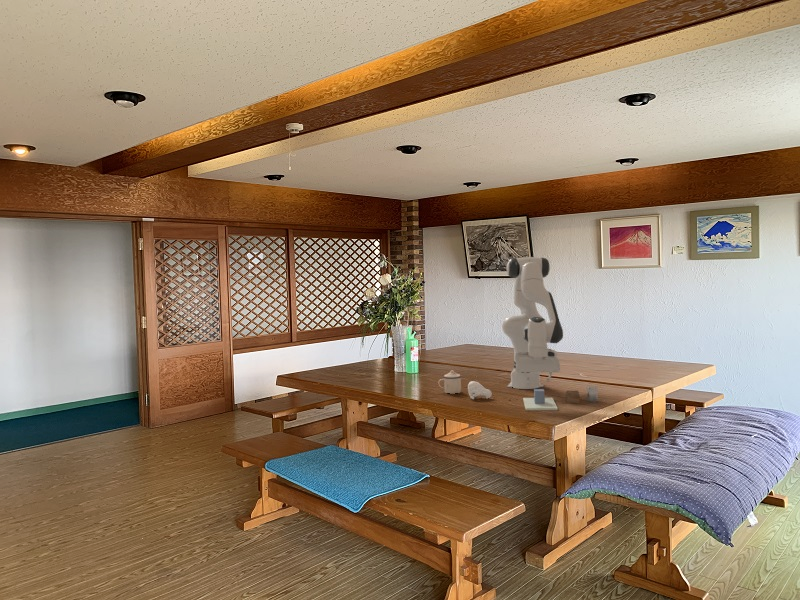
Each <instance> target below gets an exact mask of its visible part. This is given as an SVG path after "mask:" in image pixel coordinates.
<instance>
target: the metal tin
mask: <svg viewBox="0 0 800 600" xmlns="http://www.w3.org/2000/svg"><path fill="white" fill-rule="evenodd" d="M598 390H599V389H598V386H596V385H587V386H586V402H587V401H588V402H587V403H591V402H595V403H598V402H599V399H598V398H599V392H598ZM597 401H598V402H597Z"/></svg>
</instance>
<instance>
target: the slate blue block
mask: <svg viewBox="0 0 800 600" xmlns="http://www.w3.org/2000/svg"><path fill="white" fill-rule="evenodd" d="M545 394H546V393H545V389H544V388H534V389H533V398H534V402H535V404H545V398H546V395H545Z"/></svg>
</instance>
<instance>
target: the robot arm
mask: <svg viewBox="0 0 800 600" xmlns="http://www.w3.org/2000/svg"><path fill="white" fill-rule="evenodd" d="M550 270H551V266H550V261H549V259H547V258H545V257H535V256H534V257H533V256H528V257H526V256H525V257H524V256H523V257H511V258H509V259H508V261H507V263H506V273H507V275H508V276H509V277H510V278H514V279H515V280H514V287H513V288H514V290H513V291H514V294H513V295H514V296H513V303H514V305H515V306H516V308H518V309H519V310H520V313H521V314H519V315H512V316H510V317H506V318H504V319H503V321H502V324H501V327H502V331H503V333H504V334H505V335H506V337H508V338H509V340H510V341H511V344H512V347H513V353H514V354H513V355H514V356H513V357H514V358H513V359H514V360H513V370H512V371H511V373H510V383H508V384H507V388H512V387H513V389H517V390H534V389H540V388H543V387H544V384H542V383H541V381H540V380H541V379H540V378H541V377H540V373H548V374H549V375H548V376H547V377H546V382H551V377H552V376H553V373H559V372H560V371H561V363H560V359H559V357H558V352H557V351H556V350H555V349H551V348H548V344H547V343H549V344H558V343H560V342H561V341H562V339H563V338H564V329H563V327H562V324H561V321H560V319H559V315H558V310H557V307H556V303H555V300H554V298H553V295H552V293H551V292H550V291H548V290H547V288H546V287H545V284H544V278H547V276H548V275H549V273H550ZM537 304H539V305H542V307H543V306H544V308H545V309H546V310H547V311H546V312H547V315H548V319H549V321H550V322H547V321H546V319H545V318H544V317H543V316H542V315H541V314H540V313H539V311H538V309H537V306H536V305H537Z"/></svg>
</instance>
